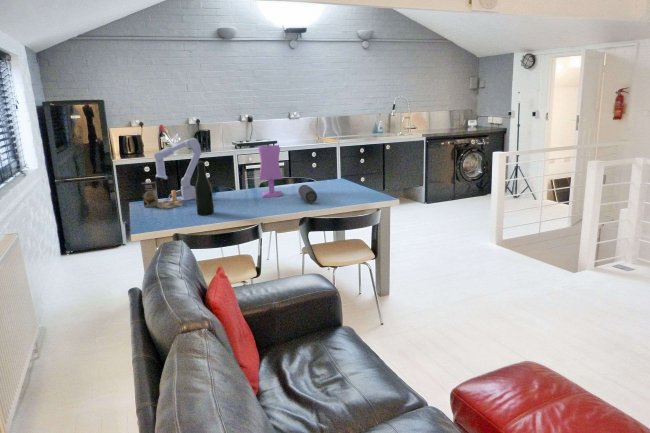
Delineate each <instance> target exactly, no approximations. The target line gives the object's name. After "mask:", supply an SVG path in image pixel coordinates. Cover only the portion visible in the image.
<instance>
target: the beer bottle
mask: <svg viewBox="0 0 650 433" xmlns="http://www.w3.org/2000/svg"><path fill="white" fill-rule="evenodd" d="M205 166H206V165H205V162H204V161H203V160H198V162H197V165H196V167H197V180H196V183H195V186H194V187H195V195H196V199H195V206H196V214H197V215H198V216H209V215H212V214H214V213H215V204H214V196H213V189H212V186H211V185H212V184H211V183H210V181H209V179H208V177H207V173H206V167H205Z"/></svg>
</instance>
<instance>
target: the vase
mask: <svg viewBox="0 0 650 433" xmlns="http://www.w3.org/2000/svg"><path fill="white" fill-rule="evenodd" d="M257 149H258V154H259V157H260V158H259V159H260V170H259V180H260V181H263V180H264V181H268V182H267V183H268V191H262V192H261V193H262V198H278V197H283V194H282V191H281V190H278V191H276V190H275V181H274V180H283V174H282V172H281V171H282V170H281V168H280V161H279V160H280V151H281V147H280V145H279V144H276V145H275V144H274V145H260V146H259V145H258V146H257Z"/></svg>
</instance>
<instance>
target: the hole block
mask: <svg viewBox="0 0 650 433" xmlns="http://www.w3.org/2000/svg"><path fill="white" fill-rule="evenodd" d="M183 201H184V200H181V199H178V198H177V201H175V202H173V201H172V199H168V200H163V201H158V202H157V206H156V207H157V208H159V209H162V210H166V209H170V208H175V207H181V206H184V204H183V203H184V202H183Z"/></svg>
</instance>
